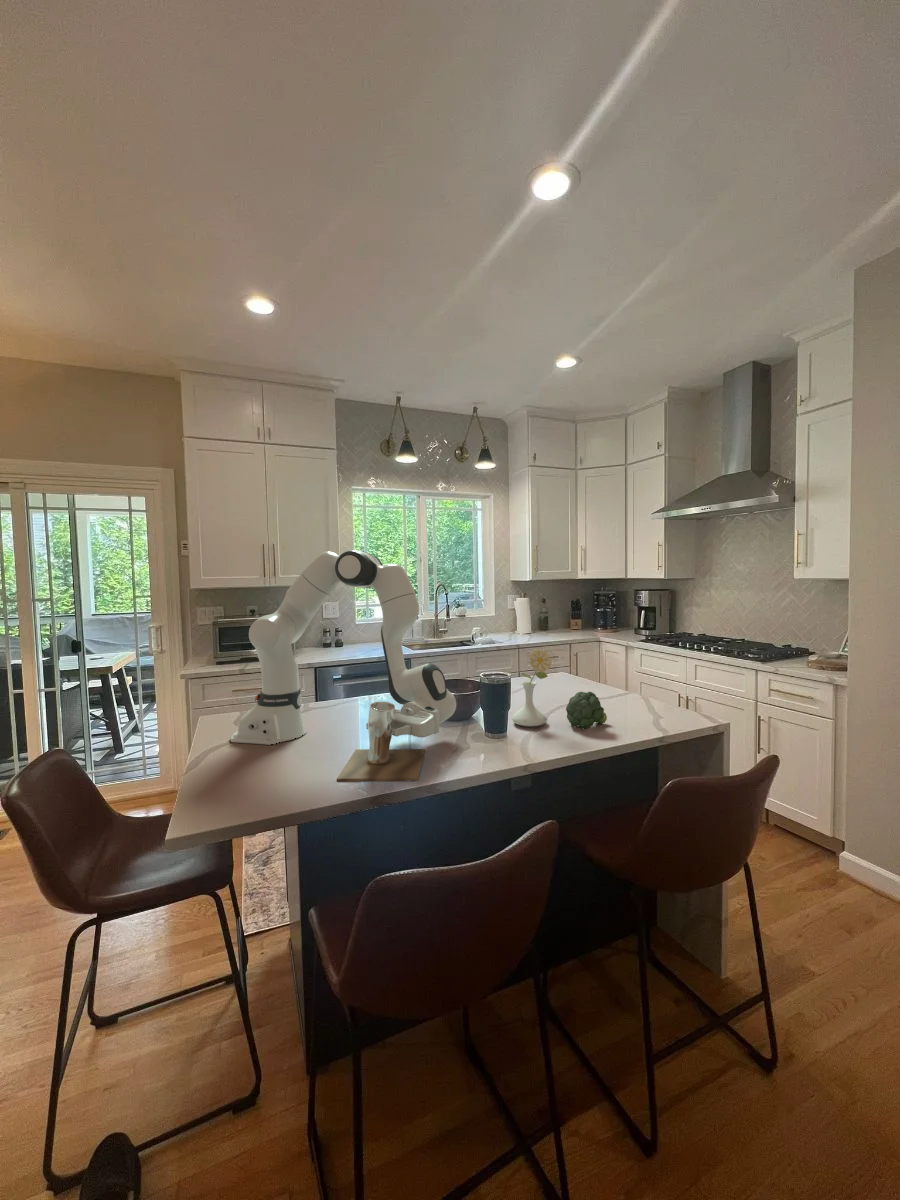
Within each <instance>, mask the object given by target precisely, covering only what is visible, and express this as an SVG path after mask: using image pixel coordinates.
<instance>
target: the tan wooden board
mask: <svg viewBox="0 0 900 1200" xmlns="http://www.w3.org/2000/svg"><path fill="white" fill-rule="evenodd" d="M368 753H369V749H367V748H366V749H362V748H361V749H354V751H353V752H352V754H351V756H350V757H349V759H348V761H347V762H346V764H345V765H344V767H343V768H342V770H341V771H340V773H339V774H338V776H337V778H336V782H406V781H405V780H418V781H419V779H420V774H421V771H420V770H421V769H422V767H421V766H423V763H424V759H423V758H425V755H426V748H392V749H391V748H389V754H390V761H389V762H388V763H386V764H382V765H376V764H372V763H370V762H369V761H368V760H367V756H368ZM424 754H425V755H424ZM422 762H423V763H422Z"/></svg>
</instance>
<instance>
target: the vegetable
mask: <svg viewBox="0 0 900 1200" xmlns="http://www.w3.org/2000/svg"><path fill="white" fill-rule="evenodd" d="M601 705H602V703H601V701H600V699H599V696H597V695H596V693H594V692H592V691H587V692H585V691H578V692H576V693H575V694H574V696H572V697H570V698H569V701H568V703H567V705H566V707H565V711H566V713H567V714H566V719H567V721H568V722H569V723H570V726H572V727H574V726H576V727H575V728H577V727H579V728H581V729H582V728H584V729H585V730H586V729H587V730H589V729H590V728H591V727H593V726H594V725H595V722H596V724H600V723H602V724H604V723H606V722H607V718H608V716H607V714H606V712H605V709H604V707H603V706H601Z"/></svg>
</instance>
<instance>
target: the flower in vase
mask: <svg viewBox="0 0 900 1200" xmlns="http://www.w3.org/2000/svg"><path fill="white" fill-rule="evenodd" d="M528 664H529V665H530V666H531V668H532V669H533V670H534V674H533V675H532V676H530V675H528V674H525V673H523V672H521V674H522V676H524V677H525V678H527V679H530V680H525V681H521V683H520V684H521V685H522V686H523V689H524V693H525V703H524V705H523V706H522V707H521V708H520V709H519V710H517V711H516V712H515V713H514V714H513V715H512V717H511V720H512V722H513V723H514V724H517V725H519V726H523V727H538V726H542V725H544V724H546V722H547V721H548V718H547V716H546V715H545V714H544V713H543V712H542V711H540V710H539V709H538V708H537V707H536V706H535V704H534V702H533V695H534V688H535V686H536V685H537V683H538V682H536V681H533V679H534V678H535V676H536V677H537V678H538V679H540V680H542V679H546V678H548V677H549V676H548V674H547V673H545V672H546V671H548V670H549V669H551V665H552V659H551V657H550V655H549V654H548V652H547V651H546V650H543V649H542V648H541V649H539V648H536V649H534V650H533V651H531V652H529V657H528Z"/></svg>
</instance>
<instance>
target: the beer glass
mask: <svg viewBox="0 0 900 1200" xmlns="http://www.w3.org/2000/svg"><path fill="white" fill-rule="evenodd" d="M395 709H396V706H395V704H393V702H392V703H391V702H389V701H374V702H373V703H370V705H369V711H368V718H367V719H368V720H367V723H368V729H367V730H368V740H369V753H368V756H367V760H368V761H369V762H370V763H372V764H376V765H382V764H386V763H388V762H389V761H390V754H389V749H390V747H391V742H392V741H391V740H392V737H393V735H392V729H394V724H395Z"/></svg>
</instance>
